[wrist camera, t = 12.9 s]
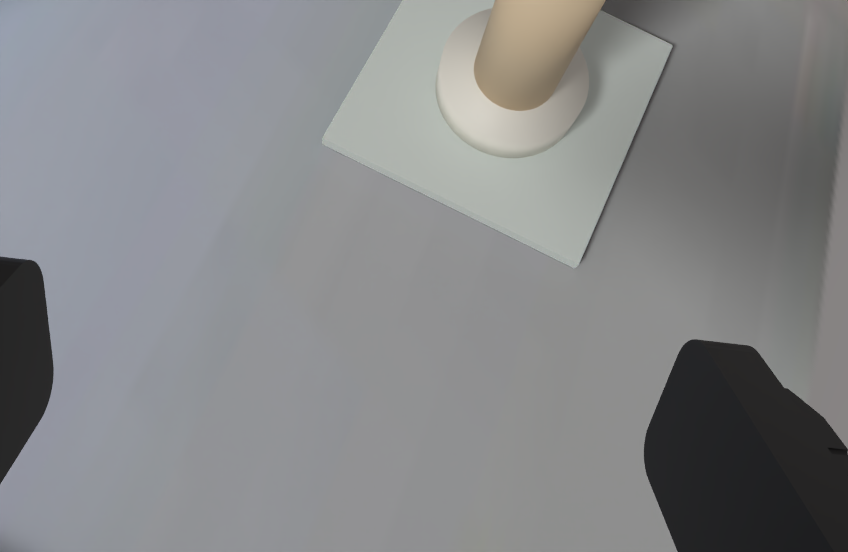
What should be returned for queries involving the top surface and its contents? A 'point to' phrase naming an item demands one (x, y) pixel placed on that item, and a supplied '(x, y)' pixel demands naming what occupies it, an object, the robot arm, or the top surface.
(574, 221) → the mat
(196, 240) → the top surface
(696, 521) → the robot arm
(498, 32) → the stool
